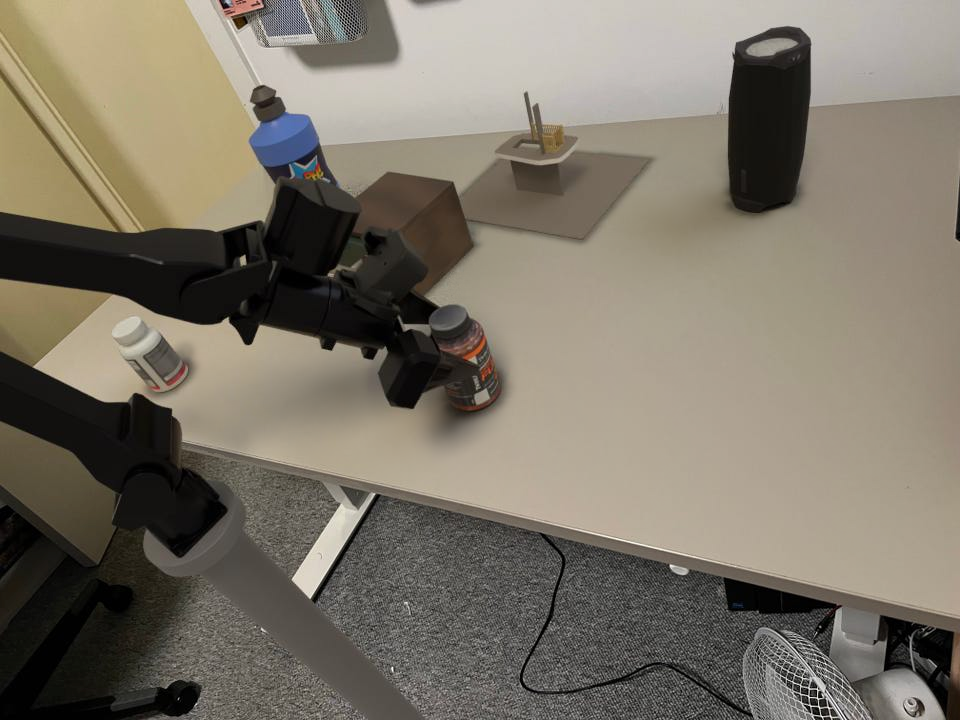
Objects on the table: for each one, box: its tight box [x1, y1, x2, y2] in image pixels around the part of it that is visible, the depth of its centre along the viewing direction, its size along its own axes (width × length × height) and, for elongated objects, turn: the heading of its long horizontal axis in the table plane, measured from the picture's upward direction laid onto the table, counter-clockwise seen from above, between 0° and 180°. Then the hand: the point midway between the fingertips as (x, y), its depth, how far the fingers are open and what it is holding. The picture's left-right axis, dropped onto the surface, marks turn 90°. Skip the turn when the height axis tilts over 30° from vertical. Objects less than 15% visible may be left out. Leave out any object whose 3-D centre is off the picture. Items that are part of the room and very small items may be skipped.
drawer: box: [329, 235, 368, 275], centre depth 86 cm, size 17×11×9 cm
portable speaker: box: [727, 25, 813, 213], centre depth 75 cm, size 9×9×20 cm
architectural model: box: [459, 91, 649, 240], centre depth 93 cm, size 21×25×14 cm
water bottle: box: [248, 84, 342, 189], centre depth 94 cm, size 9×9×25 cm
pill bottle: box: [111, 315, 189, 393], centre depth 83 cm, size 5×5×10 cm
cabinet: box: [351, 171, 474, 297], centre depth 87 cm, size 14×13×11 cm
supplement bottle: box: [428, 303, 501, 412], centre depth 66 cm, size 6×6×11 cm
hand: (463, 343), depth 65 cm, fingers open, 9 cm apart
